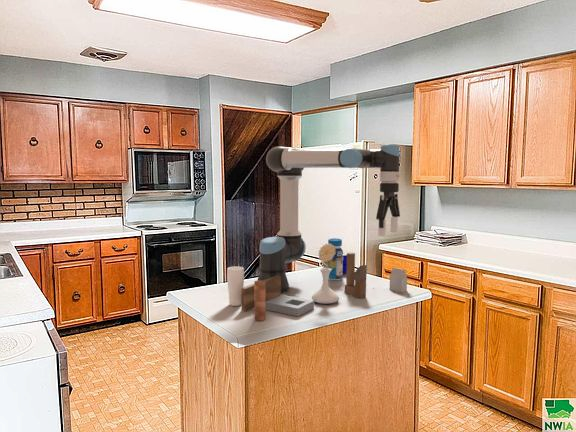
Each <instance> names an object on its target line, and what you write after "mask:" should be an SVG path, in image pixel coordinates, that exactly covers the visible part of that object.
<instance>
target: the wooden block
mask: <svg viewBox="0 0 576 432" xmlns="http://www.w3.org/2000/svg"><path fill="white" fill-rule="evenodd" d="M346 254H347V273H346V275H345V277H346V280H345V281H346V284H344V290H343V292H344V293H345V294H348V295H350V296H353V297H355V298H358V299H364V298H366V296H367V272H368V271H367V269H368V268H367V267H368V266H367V264H363V265H359V267H357V269H356V268H355V267H356V253H355V252H346Z"/></svg>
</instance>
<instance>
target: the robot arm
mask: <svg viewBox="0 0 576 432" xmlns="http://www.w3.org/2000/svg"><path fill="white" fill-rule="evenodd" d="M400 150H401V149H400V146H399V144H394V143H391V144H390V143H389V144H388V143H387V144H385V143H384V144H381V145H380V148H378V149H364V148H363V149H362V148H355V147H348V148H330V149H329V148H327V149H323V148H322V149H320V148H319V149H299V148H296V147H292V146H291V147H289V146H275V147H271V149H270V150H268V152H267V154H266V156H265V161H266V165H267V167H268V168H269V169H270V170H271V171H273V172H275V173H276V177H277V178H279V180H280V184H279V185H280V190H279V191H280V198H279V200H280V202H279V203H280V204H279V205H280V206H279V207H280V208H279V212H280V214H279V215H280V219H279V220H280V221H279V224H280V225H279V226H280V228H279V229H280V230H279V231H278V232H277V233H276V234H277V235H276V236H271V237H270V236H269V237H266V238H265V237H264V238H263V239H261V240H260V242H259V249H258V251H259V274H258V276H257V280H256V281H259V280H262V281H263V280H266V279H269V278H272V277H275V276H281V294H282V293H286V292H289V290H290V283H289V281H288V277H287V274H286V264H289V263H291V262H296V261H298V260H300V259H301V258H302V257H303V256H304V255H305V253H306V246H307V245H306V243H305V240H304V239H303V238H302V232H300V230H299V192H300V191H299V190H300V189H299V186H300V185H299V182H300V181H299V180H300V179H301V178H302V177H303V170H304V169H305V168H306V169H309V168H312V169H313V168H314V169H319V168H320V169H325V168H326V169H327V168H331V169H332V168H334V169H338V168H342V169H343V168H344V169H364V168H365V169H380V173H379V182H380V183H379V192H380V193H383V194H380V195H379V202H378V208H377V212H376V220H378V234H377V235H378V237H386V228H387V227H386V226H387V225H386V224H387V223H386V222H387V221H386V216H387V213H388V210H389V211H390V215H391V216H390V233H398V220H399V217H401V212H400V205H399V195H398V193H399V190H400V189H399V188H400V184H399V183H398V182H399V181H400V177H401V174H400V159H401V155H400V154H401V153H400Z"/></svg>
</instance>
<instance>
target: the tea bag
mask: <svg viewBox="0 0 576 432" xmlns="http://www.w3.org/2000/svg"><path fill="white" fill-rule="evenodd" d="M389 290H390V291H394V292H398V293H405V292H407V290H408V277H407V274H406V270H405V269H401V268H398V267H394V266H393V267H392V269H391V273H390V276H389Z"/></svg>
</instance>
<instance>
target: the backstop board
mask: <svg viewBox="0 0 576 432" xmlns="http://www.w3.org/2000/svg"><path fill="white" fill-rule="evenodd" d="M263 281H265V302H266V301H269V300H271V299H273V298H276V297H278V296H281V295H282V293H281V276H275V277H272V278H269V279H266V280H263ZM240 306H241V309H240V310H241V312H248V311H250V310H253V309H254V283H251V284H249V285H246V286H243V288H241V305H240Z"/></svg>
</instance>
